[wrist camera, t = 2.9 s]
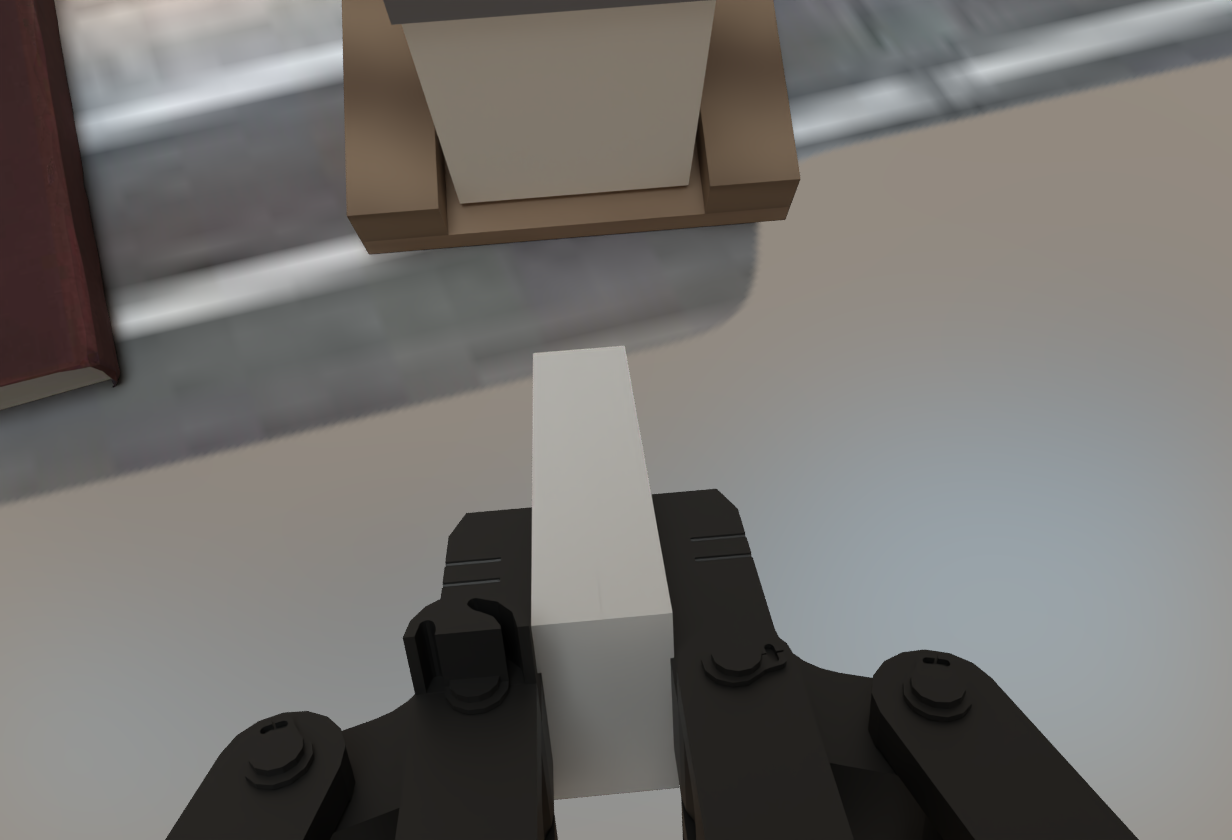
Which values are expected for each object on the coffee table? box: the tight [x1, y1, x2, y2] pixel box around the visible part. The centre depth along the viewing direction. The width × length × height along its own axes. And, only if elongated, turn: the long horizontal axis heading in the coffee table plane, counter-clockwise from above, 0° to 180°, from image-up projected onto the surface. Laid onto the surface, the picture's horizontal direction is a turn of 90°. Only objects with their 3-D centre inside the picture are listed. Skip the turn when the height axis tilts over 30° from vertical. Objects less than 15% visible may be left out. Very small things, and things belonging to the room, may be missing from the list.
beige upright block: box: [383, 0, 716, 204], centre depth 30 cm, size 6×8×11 cm
